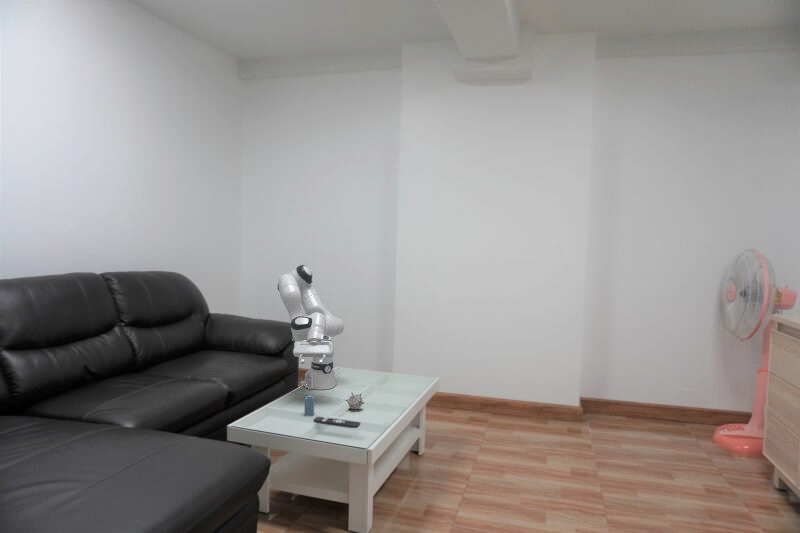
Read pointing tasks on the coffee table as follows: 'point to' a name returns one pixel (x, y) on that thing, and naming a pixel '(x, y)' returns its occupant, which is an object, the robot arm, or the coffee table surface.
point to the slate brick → (309, 406)
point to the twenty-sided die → (355, 401)
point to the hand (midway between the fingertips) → (311, 363)
